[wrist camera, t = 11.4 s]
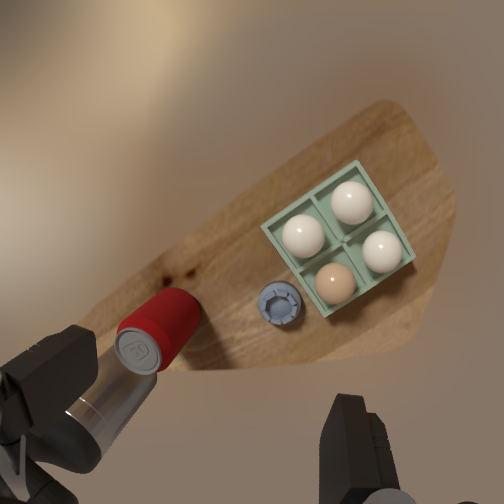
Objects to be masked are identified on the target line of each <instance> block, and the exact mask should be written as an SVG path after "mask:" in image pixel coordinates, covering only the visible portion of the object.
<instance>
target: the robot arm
mask: <svg viewBox="0 0 504 504" xmlns="http://www.w3.org/2000/svg"><path fill="white" fill-rule="evenodd" d="M156 382H157V373H156V372H155V373H152V374H149V375H141V374H137V373H135V372H133V371H131V370H129V369H128V368H127V367H126V366H125V365H123V363H122V362H121V361H120V359H119V358H118V356H117V354H116V351H115V346H114V345H113V346H112V347H110V348H109V349H108V350H107V351H106V352H105V353H103V354H102V355H101V356H100V357H99V358H98V359H97V348H96V338H95V334H94V332H93V331H91V330H88V329H85V328H83V327H80V326H78V325H71V326H69V327H68V328H67V329H65V330H63V331H62V332H60V333H57V334H54V335H51V336H47V337H45V338H44V339H43V340H41V341H39V342H38V343H37V344H36V345H33V346H32V347H30V348H29V350H26V351H24V352H23V353H21V354H20V355H18V356H17V357H15V358H14V359H12V360H11V361H9V362H8V363H6V364H5V365H3V366H2V367H0V504H79V503H78V500H77V498H76V496H75V495H74V494H73V493H72V492H70V491H69V490H68V489H67V488H65V487H64V486H63V485H61V484H60V483H59V482H58V481H57V480H55V479H54V478H53V477H52V476H50V475H49V474H48V473H47V472H46V471H44V470H43V469H42V468H41V467H40V466H38V465H37V464H36V463H35V462H36V461H39V462H46V463H50V464H53V465H56V466H59V467H61V468H64V469H66V470H69V471H72V472H75V473H80V474H86V473H89V472H91V471H92V470H93V469H94V468H95V467H96V466H97V464H98V463H99V461H100V460H101V458H102V457H103V456H104V454H105V453H106V452H107V450H108V449H109V448H110V446H111V445H112V443H113V442H114V440H115V439H116V438H117V436H118V435H119V434H120V432H121V431H122V430H123V428H124V427H125V426H126V424H127V423H128V422H129V420H130V419H131V418H132V416H133V415H134V414H135V412H136V411H137V409H138V408H139V407H140V405H141V404H142V403H143V401H144V400H145V399H146V397H147V396H148V395H149V393H150V392H151V391H152V389H153V388H154V386H155V384H156ZM387 438H388V436H387V432H386V428H385V425H384V423H383V422H382V421H381V420H380V418H379V417H378V416H377V415H376V413H367V412H366V407H365V403H364V399H363V397H362V396H358V395H349V394H340V393H339V394H337V396H336V398H335V400H334V403H333V405H332V408H331V410H330V413H329V415H328V418H327V420H326V422H325V425H324V427H323V430H322V433H321V437H320V446H319V447H320V448H319V456H320V459H319V462H320V463H319V465H320V466H319V470H320V471H319V477H320V478H319V504H416V502H415V500H414V499H413V498H412V497H411V496H410V495H409V494H407V493H405V492H403V491H401V490H400V486H399V482H398V477H397V473H396V468H395V464H394V460H393V456H392V452H391V450H390V443H389V440H387ZM459 504H477V503H474V502H461V503H459Z"/></svg>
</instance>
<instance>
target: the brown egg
mask: <svg viewBox="0 0 504 504" xmlns="http://www.w3.org/2000/svg"><path fill="white" fill-rule="evenodd" d="M355 286H356V280H355V276H354V274H353V272H352V271H351V269H350V268H349V267H347V266H346V265H344V264H342V263H337V262H334V263H329V264H326V265H325V266H323V267H322V268H321V269H320V270H319V271H318V273H317V274H316V277H315V281H314V287H315V291H316V293H317V295H318V296H319V298H320V299H321V300H323V301H324V302H326V303H328V304H333V305H336V304H341V303H344V302H346V301H347V300H348V299H349V298H350V297H351V296H352V295H353V293H354V290H355Z"/></svg>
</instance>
